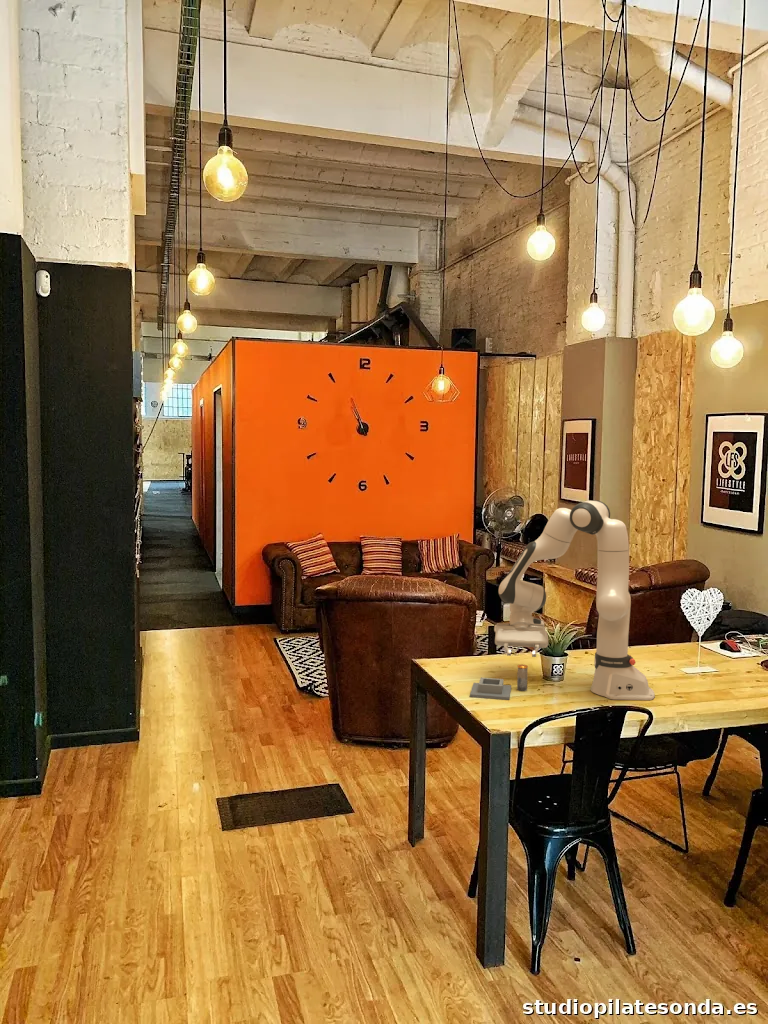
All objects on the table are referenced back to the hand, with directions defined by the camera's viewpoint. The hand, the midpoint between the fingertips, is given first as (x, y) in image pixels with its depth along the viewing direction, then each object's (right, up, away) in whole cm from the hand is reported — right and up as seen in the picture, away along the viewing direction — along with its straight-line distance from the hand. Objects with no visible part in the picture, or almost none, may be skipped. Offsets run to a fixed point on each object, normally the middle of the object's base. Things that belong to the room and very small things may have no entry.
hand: (521, 655), depth 293 cm
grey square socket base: (-13, -12, -10) cm, 20 cm away
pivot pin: (-1, -12, -6) cm, 13 cm away
